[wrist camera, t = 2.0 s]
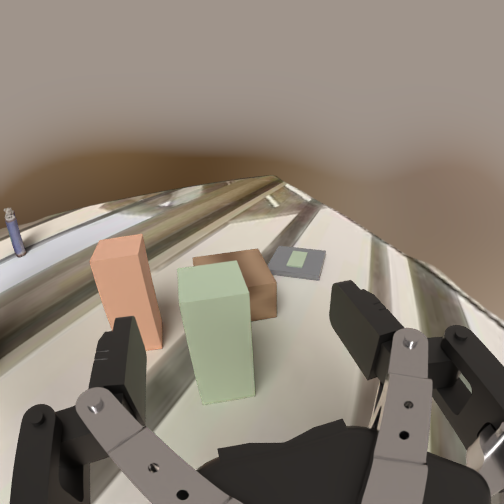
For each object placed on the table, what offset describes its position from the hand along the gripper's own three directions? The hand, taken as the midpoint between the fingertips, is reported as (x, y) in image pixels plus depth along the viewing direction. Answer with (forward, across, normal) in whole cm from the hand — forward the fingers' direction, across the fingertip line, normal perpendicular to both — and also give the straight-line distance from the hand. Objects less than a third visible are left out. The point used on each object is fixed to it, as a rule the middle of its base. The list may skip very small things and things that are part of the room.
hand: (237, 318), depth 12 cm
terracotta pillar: (+20, +9, +17) cm, 28 cm away
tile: (+32, -14, +17) cm, 39 cm away
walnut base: (+25, -3, +17) cm, 30 cm away
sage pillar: (+11, 0, +17) cm, 20 cm away
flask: (+55, +43, +16) cm, 72 cm away
